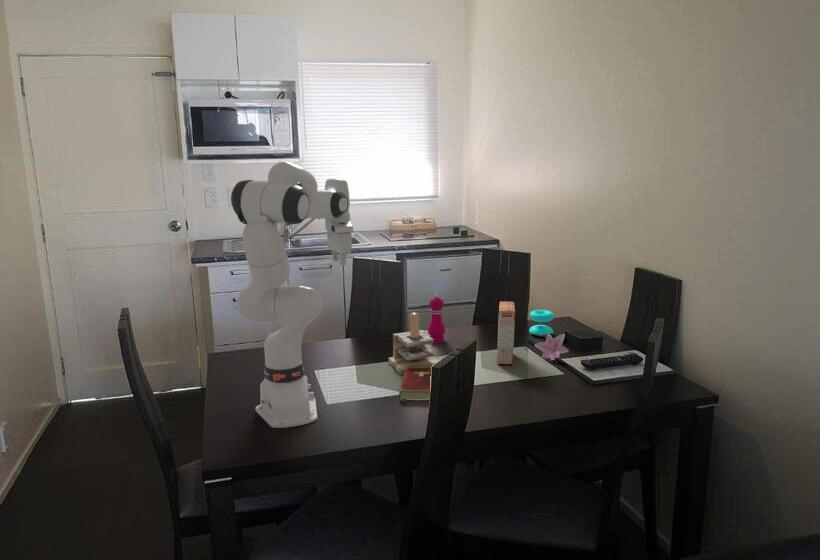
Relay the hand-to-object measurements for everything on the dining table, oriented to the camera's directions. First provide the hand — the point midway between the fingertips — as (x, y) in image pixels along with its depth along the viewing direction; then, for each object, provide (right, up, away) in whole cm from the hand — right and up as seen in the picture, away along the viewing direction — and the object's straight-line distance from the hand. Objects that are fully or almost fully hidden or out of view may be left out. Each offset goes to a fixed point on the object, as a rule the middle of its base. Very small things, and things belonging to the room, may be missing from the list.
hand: (339, 263), depth 225 cm
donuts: (+81, -29, +41) cm, 95 cm away
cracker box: (+61, -36, +12) cm, 72 cm away
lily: (+79, -36, +11) cm, 87 cm away
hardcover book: (+29, -43, -14) cm, 54 cm away
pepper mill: (+36, -31, +34) cm, 59 cm away
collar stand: (+27, -38, +6) cm, 47 cm away
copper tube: (+27, -36, +6) cm, 45 cm away
